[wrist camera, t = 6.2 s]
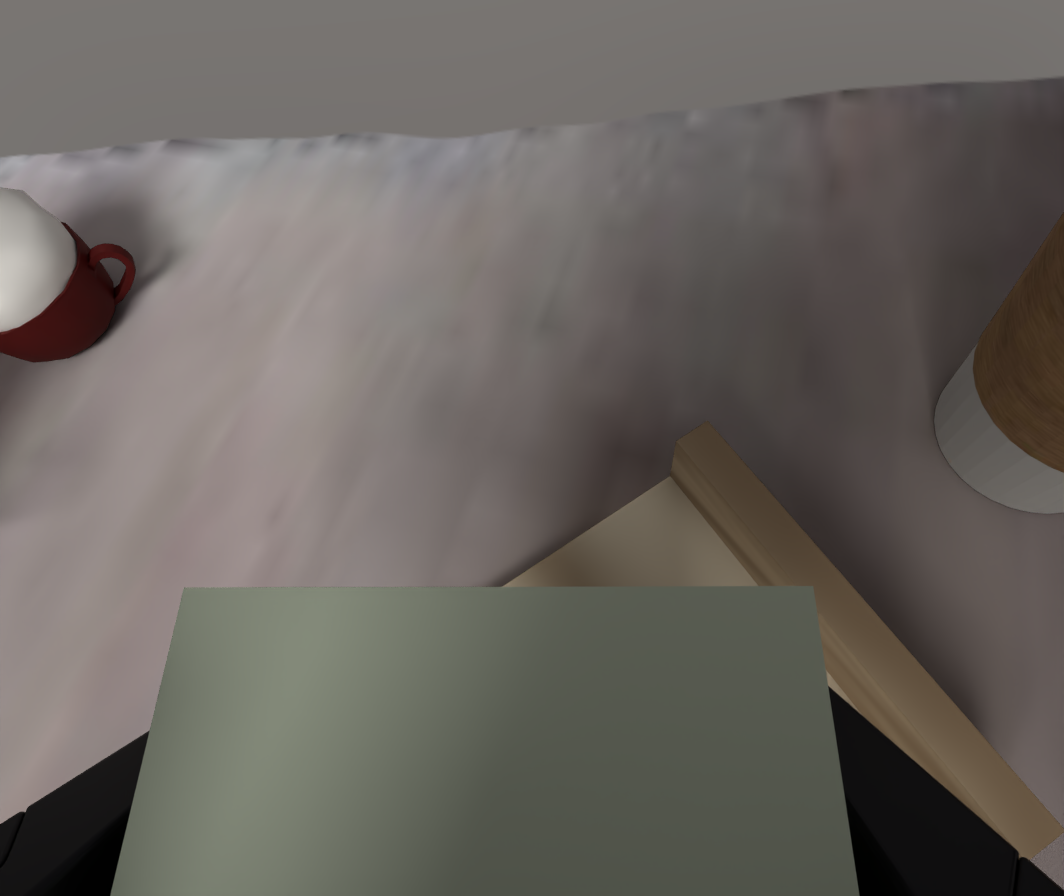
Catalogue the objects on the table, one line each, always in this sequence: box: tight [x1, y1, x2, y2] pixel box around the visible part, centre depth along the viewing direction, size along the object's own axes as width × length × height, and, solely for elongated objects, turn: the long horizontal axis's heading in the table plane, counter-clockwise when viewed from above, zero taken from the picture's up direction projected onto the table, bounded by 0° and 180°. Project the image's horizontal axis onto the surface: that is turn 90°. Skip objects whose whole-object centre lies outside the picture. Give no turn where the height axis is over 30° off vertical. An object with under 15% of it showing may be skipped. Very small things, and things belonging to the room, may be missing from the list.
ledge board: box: [502, 421, 1064, 860], centre depth 19 cm, size 14×13×4 cm
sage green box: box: [110, 586, 859, 896], centre depth 10 cm, size 4×6×11 cm, turn 89°
